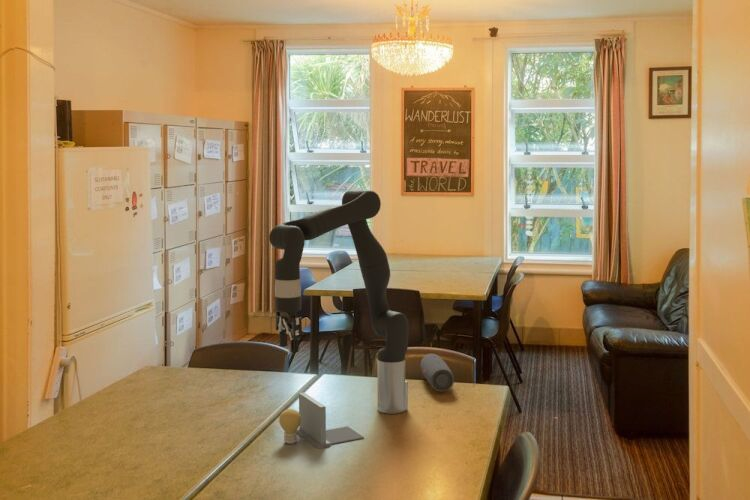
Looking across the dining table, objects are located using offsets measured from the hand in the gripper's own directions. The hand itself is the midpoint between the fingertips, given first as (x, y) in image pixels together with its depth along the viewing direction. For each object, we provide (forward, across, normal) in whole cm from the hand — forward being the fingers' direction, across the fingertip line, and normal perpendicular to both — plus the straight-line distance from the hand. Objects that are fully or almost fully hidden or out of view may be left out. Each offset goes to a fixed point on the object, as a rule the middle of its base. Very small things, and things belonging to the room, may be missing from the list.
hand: (288, 349), depth 231 cm
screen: (+28, 0, -7) cm, 29 cm away
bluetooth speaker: (+28, +28, -69) cm, 80 cm away
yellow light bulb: (+28, 0, 0) cm, 28 cm away
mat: (+28, -2, -15) cm, 32 cm away
